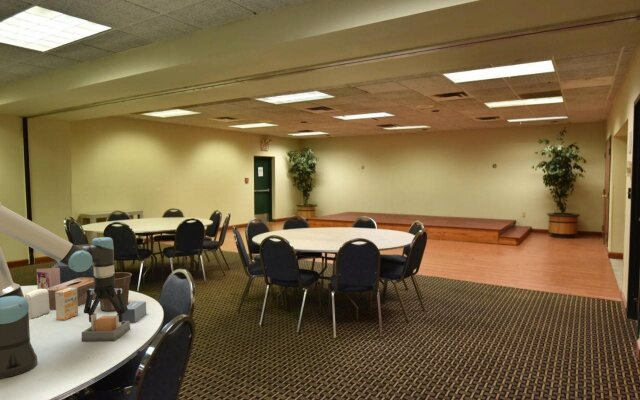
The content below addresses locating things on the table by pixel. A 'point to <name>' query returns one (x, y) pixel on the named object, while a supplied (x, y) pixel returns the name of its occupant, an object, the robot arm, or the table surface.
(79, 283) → the tissue box cover
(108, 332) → the tray
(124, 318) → the block
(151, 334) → the table surface
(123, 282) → the plant pot
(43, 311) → the photo printer
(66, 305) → the supplement box
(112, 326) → the stub
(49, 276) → the pink box
